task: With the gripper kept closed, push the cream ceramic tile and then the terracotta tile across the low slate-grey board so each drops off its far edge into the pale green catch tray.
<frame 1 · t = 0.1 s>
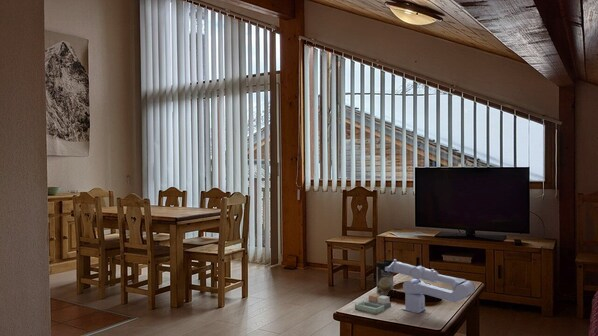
hand: (380, 263, 273), 22 cm above the table, tool horizontal, fingers open, 7 cm apart
green tray: (369, 309, 262), on the table
coffee box: (385, 294, 288), on the table
cream tile: (383, 302, 267), point 2 cm above the table, touching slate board
terracotta tile: (374, 300, 270), point 2 cm above the table, touching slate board
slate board: (377, 306, 268), on the table
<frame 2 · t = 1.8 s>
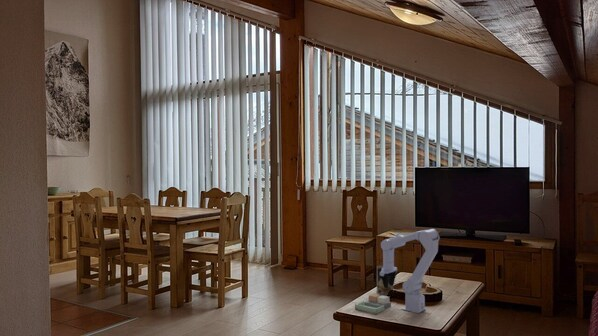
hand: (388, 286, 271), 9 cm above the table, tool pointing down, fingers open, 5 cm apart
nothing on the table moved.
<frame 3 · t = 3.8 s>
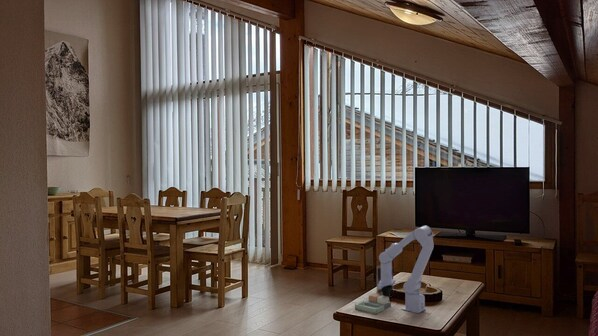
hand: (386, 299, 269), 3 cm above the table, tool pointing down, fingers closed
cream tile: (383, 302, 267), point 2 cm above the table, touching gripper
everything else where it was.
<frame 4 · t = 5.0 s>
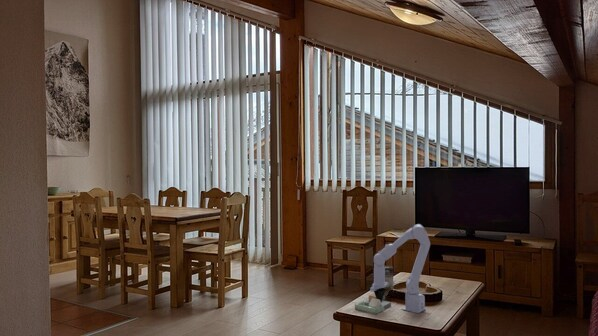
hand: (379, 302, 264), 3 cm above the table, tool pointing down, fingers closed
cream tile: (376, 305, 262), point 2 cm above the table, tilted 39°, touching green tray
everything else where it was.
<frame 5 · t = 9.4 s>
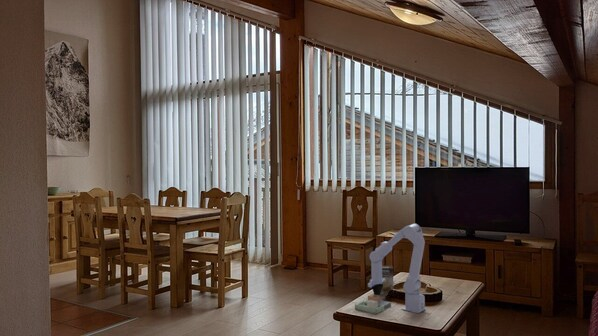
hand: (377, 297, 272), 3 cm above the table, tool pointing down, fingers closed
cream tile: (374, 304, 261), point 3 cm above the table, tilted 90°, touching green tray
everything else where it was.
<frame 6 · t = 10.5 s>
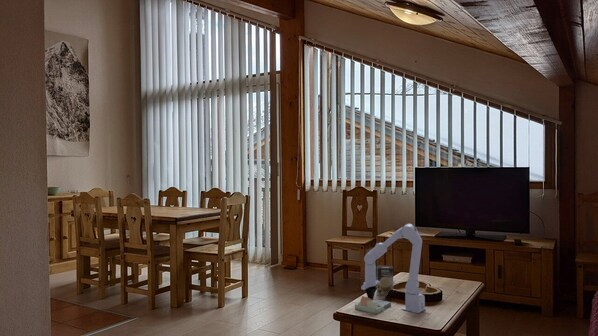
hand: (370, 300, 268), 3 cm above the table, tool pointing down, fingers closed
terracotta tile: (367, 302, 266), point 2 cm above the table, tilted 59°, touching green tray
everything else where it was.
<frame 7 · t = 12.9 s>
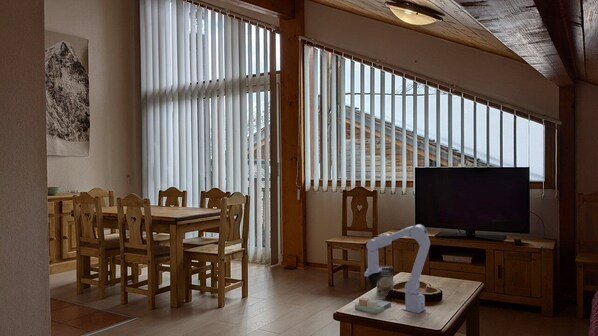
hand: (373, 287, 268), 10 cm above the table, tool pointing down, fingers closed
terracotta tile: (365, 302, 265), point 3 cm above the table, tilted 90°, touching green tray
everything else where it was.
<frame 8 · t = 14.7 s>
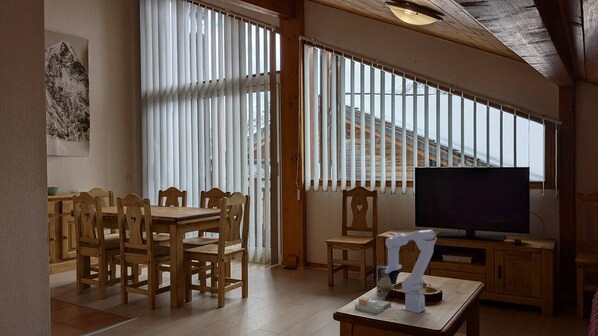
hand: (393, 284, 273), 10 cm above the table, tool pointing down, fingers closed
nothing on the table moved.
at the end: cream tile inside the target area (2.8 cm from its centre), point 2.7 cm above the table; terracotta tile inside the target area (3.2 cm from its centre), point 2.7 cm above the table; cream tile touching green tray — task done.
